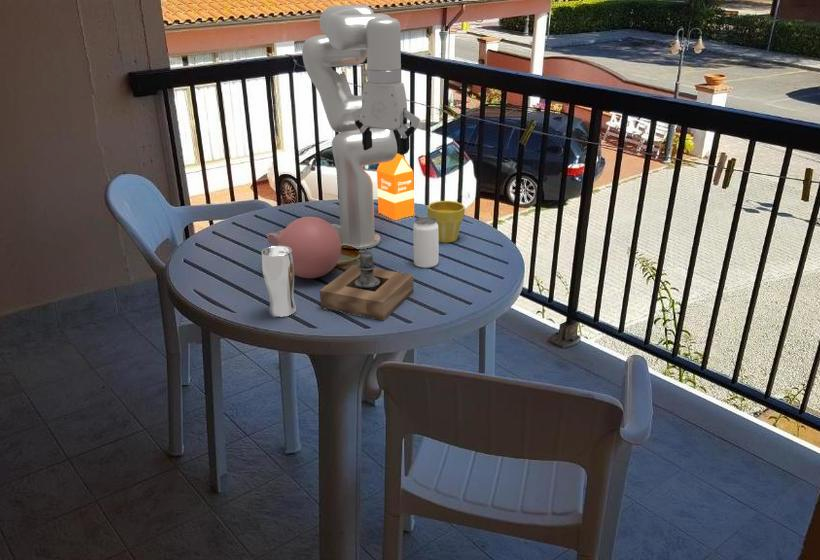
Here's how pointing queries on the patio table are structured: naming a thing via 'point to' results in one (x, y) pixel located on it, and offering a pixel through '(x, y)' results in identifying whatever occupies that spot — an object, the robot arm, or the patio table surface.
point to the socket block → (367, 293)
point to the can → (426, 242)
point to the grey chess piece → (367, 273)
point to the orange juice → (395, 188)
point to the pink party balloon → (310, 245)
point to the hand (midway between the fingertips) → (385, 151)
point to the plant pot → (447, 218)
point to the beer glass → (279, 279)
